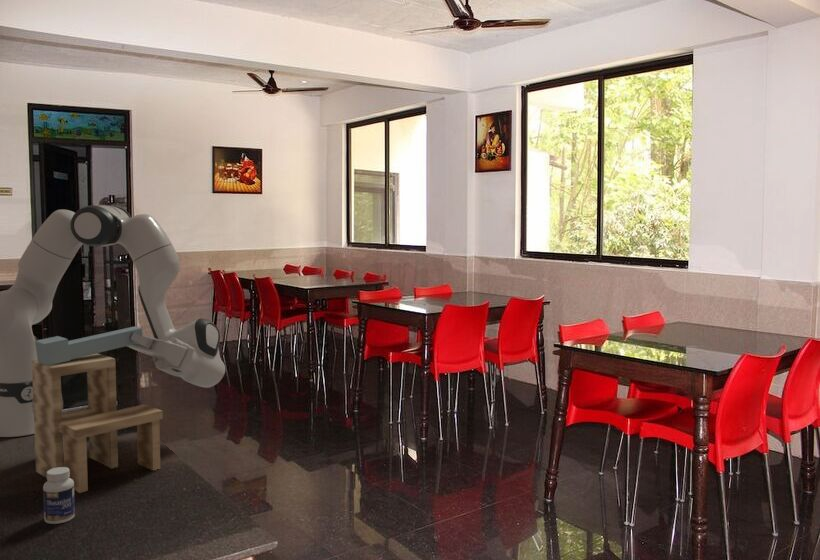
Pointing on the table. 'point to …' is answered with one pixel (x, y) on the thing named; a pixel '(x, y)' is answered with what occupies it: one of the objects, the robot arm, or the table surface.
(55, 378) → the tall stand
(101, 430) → the bench
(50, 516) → the pill bottle
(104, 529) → the table surface
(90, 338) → the rail
